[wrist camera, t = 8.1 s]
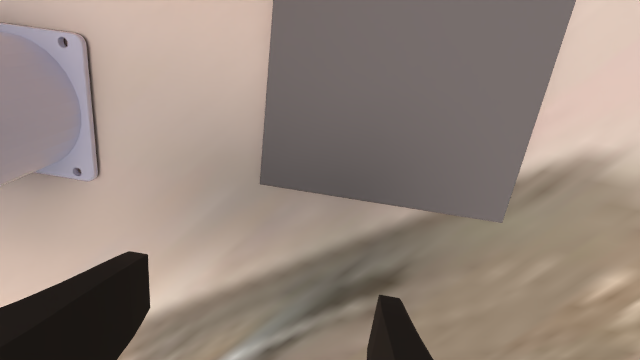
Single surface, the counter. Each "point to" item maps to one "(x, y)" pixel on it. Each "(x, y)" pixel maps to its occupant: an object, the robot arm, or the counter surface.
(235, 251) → the counter surface
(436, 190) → the mat
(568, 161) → the counter surface
